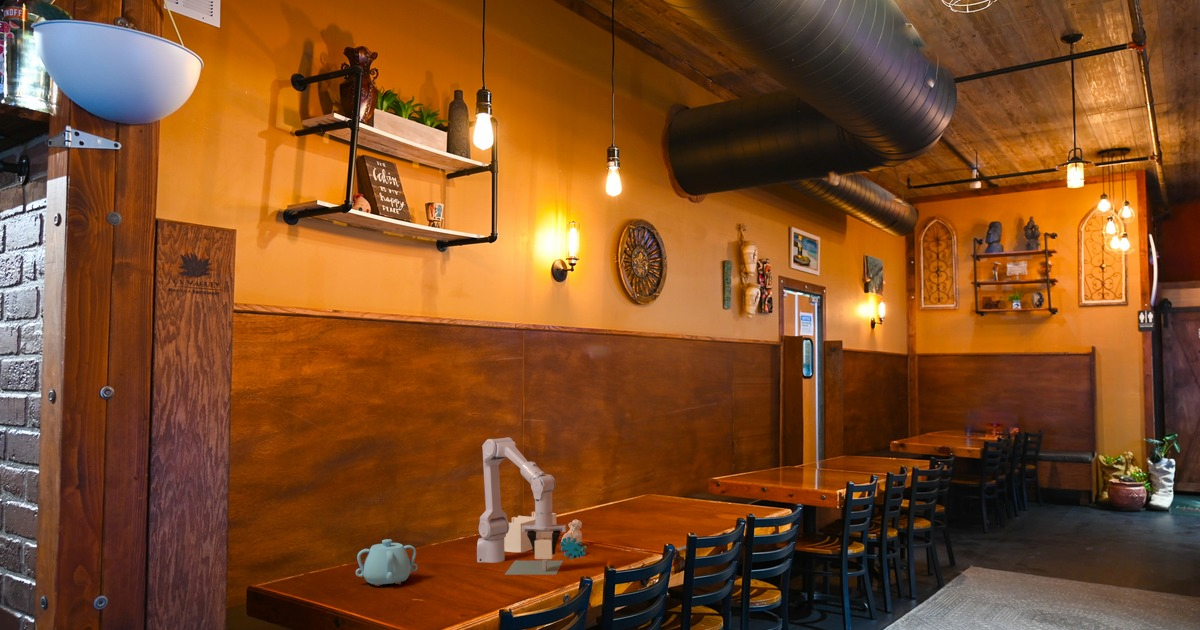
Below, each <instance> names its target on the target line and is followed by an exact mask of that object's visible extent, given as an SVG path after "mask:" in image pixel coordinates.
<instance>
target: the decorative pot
mask: <svg viewBox="0 0 1200 630" xmlns="http://www.w3.org/2000/svg"><path fill="white" fill-rule="evenodd" d="M407 549H411V550H412V554H411V555H412V556H411V559H410V558H409V555H408V552H407ZM364 553H367V555H366V557H365V559H364V562H362V557H361V555H362V554H364ZM356 556H357V557H356V559H357V562H358V566H359V568H357V569H356V570H355V575H356V577H360V578H362V577H363V578H364V580H365V581H366V582H367V583H369V584H371V585H373V586H374V585H382V586H383V585H387V584H394V583H401V582H402V583H403V582H405V581H406V580H407V579H408V578H409V576H410V575H411V573H414V572H416V571H417V570H418V566H419V565H418V564H417V563H414V562H415V559H416V556H417V550H416V548H415V547H414V546H413V545H410V544H407V545H403V544H402V543H399V542H393V539H391V538H389V539H387V538H386V539H383V540H381V543H377V544H372V545H371V547H370V548H364V549H362V550H360V551H359V552H358V553H357V555H356ZM413 566H414V567H413ZM360 571H361V572H360ZM359 572H360V573H359Z"/></svg>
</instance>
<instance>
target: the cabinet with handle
mask: <svg viewBox="0 0 1200 630" xmlns="http://www.w3.org/2000/svg"><path fill="white" fill-rule="evenodd" d="M552 545H553V544H552V538H536V540H535V555H534V559H535V560H542V559H547V560H552V559H553V557H554V555H555V554H552Z"/></svg>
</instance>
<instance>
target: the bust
mask: <svg viewBox="0 0 1200 630" xmlns="http://www.w3.org/2000/svg"><path fill="white" fill-rule="evenodd" d="M567 525H568V527H569V530H568V531H566V533H564V534H563V535H562V538H561V541H560V543H561V542H563V541H562V540H563V538H566V542H568V540H567V537H571V539H570V541H571V542H572V540H573V538H575V539H577V540H576V542H575V543H578V542H581V543H582V542H583V541H582V540H583V537H582V536H583V533H582V531H581V530H580V529H581V528H582V525H583V524H582V521H581V520H579V519H576V518H575V519H573V520H572V522H569V523H568V524H567ZM564 544H565V543H564ZM562 547H563V546H561V548H562Z"/></svg>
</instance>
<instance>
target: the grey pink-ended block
mask: <svg viewBox="0 0 1200 630" xmlns="http://www.w3.org/2000/svg"><path fill="white" fill-rule="evenodd" d="M541 561H542V572H546V571H547V561H548V559H541Z"/></svg>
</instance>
